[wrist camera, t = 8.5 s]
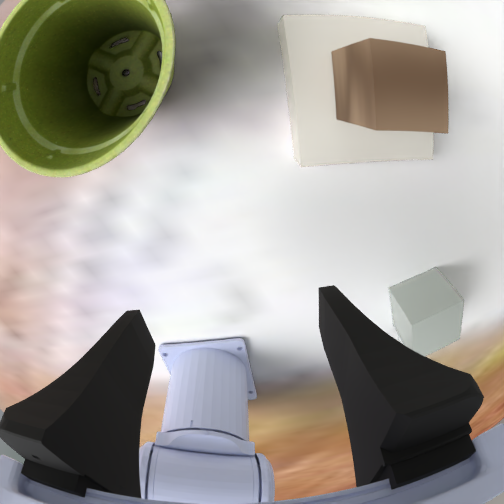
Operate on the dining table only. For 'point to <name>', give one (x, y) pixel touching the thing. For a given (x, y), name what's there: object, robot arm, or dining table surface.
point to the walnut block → (391, 86)
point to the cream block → (323, 93)
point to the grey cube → (426, 312)
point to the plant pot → (80, 80)
